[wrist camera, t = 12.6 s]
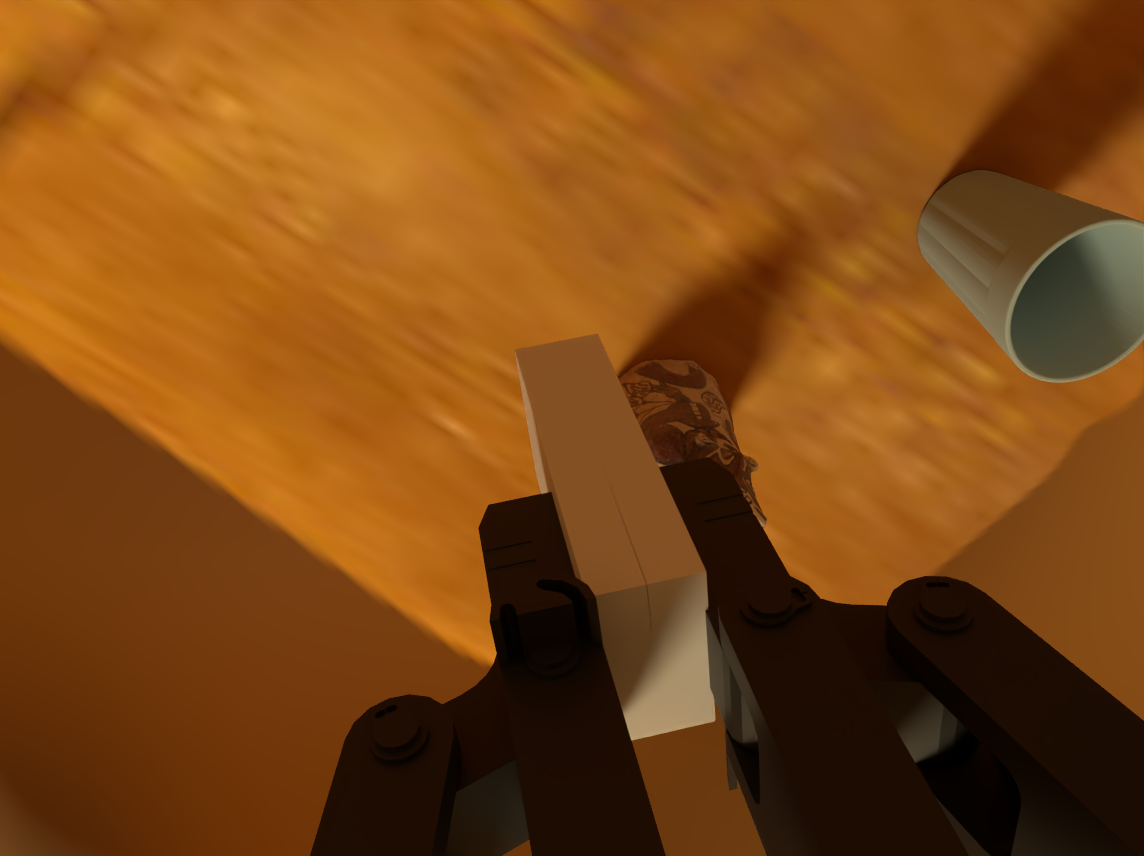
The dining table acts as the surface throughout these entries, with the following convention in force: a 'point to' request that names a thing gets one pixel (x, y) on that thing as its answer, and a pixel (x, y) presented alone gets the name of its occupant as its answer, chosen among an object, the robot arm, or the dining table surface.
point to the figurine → (687, 419)
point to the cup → (1039, 272)
